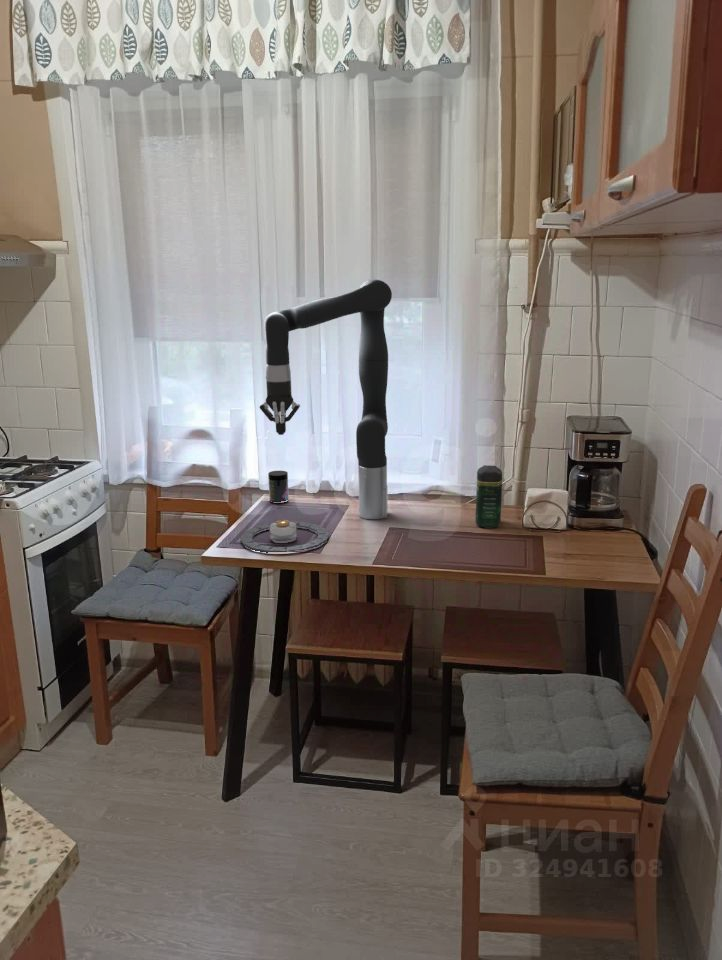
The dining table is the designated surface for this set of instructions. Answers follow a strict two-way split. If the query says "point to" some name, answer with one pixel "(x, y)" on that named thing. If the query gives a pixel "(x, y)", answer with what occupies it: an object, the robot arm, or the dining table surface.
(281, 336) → the robot arm
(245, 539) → the centring ring
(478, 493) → the coffee jar
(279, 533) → the cast cover
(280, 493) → the supplement container
